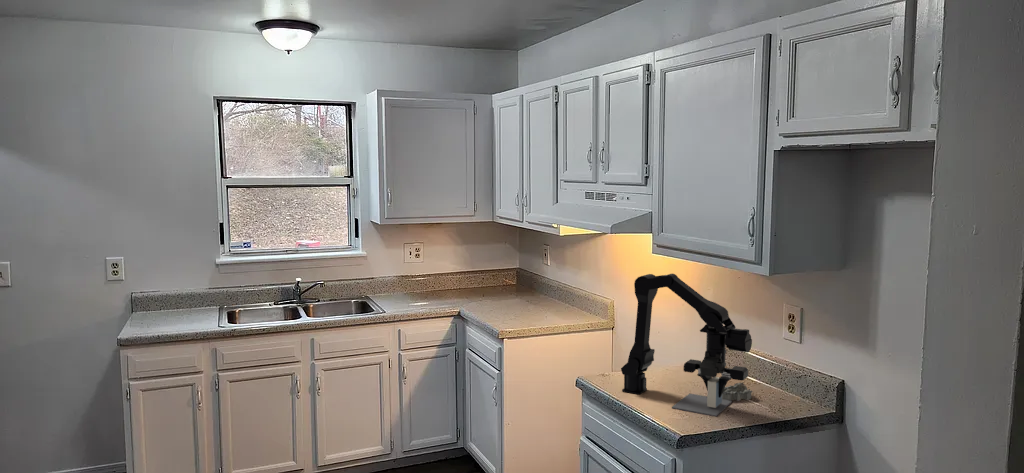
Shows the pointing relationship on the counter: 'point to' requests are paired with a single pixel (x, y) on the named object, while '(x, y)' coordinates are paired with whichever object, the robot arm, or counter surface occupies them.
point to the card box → (713, 393)
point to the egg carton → (736, 392)
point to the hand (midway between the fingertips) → (714, 396)
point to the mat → (700, 405)
